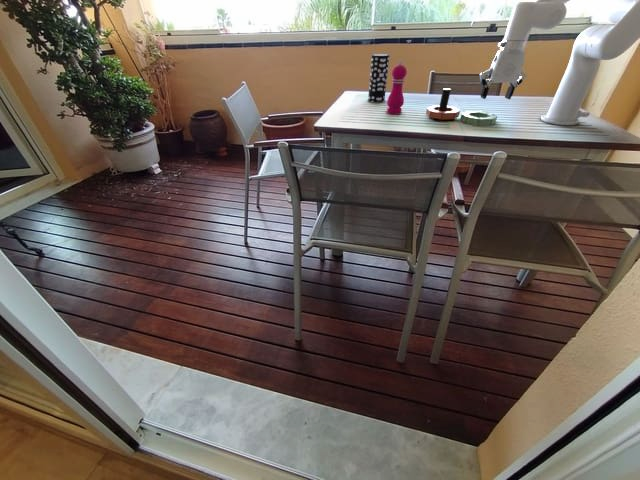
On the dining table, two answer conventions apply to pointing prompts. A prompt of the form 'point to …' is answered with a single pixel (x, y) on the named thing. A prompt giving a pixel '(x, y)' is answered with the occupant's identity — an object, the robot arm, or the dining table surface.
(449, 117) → the ring terracotta
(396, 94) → the pepper mill
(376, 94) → the white-spotted black cylinder
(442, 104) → the peg stand
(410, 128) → the dining table surface
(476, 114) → the ring green
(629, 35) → the robot arm
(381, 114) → the dining table surface
